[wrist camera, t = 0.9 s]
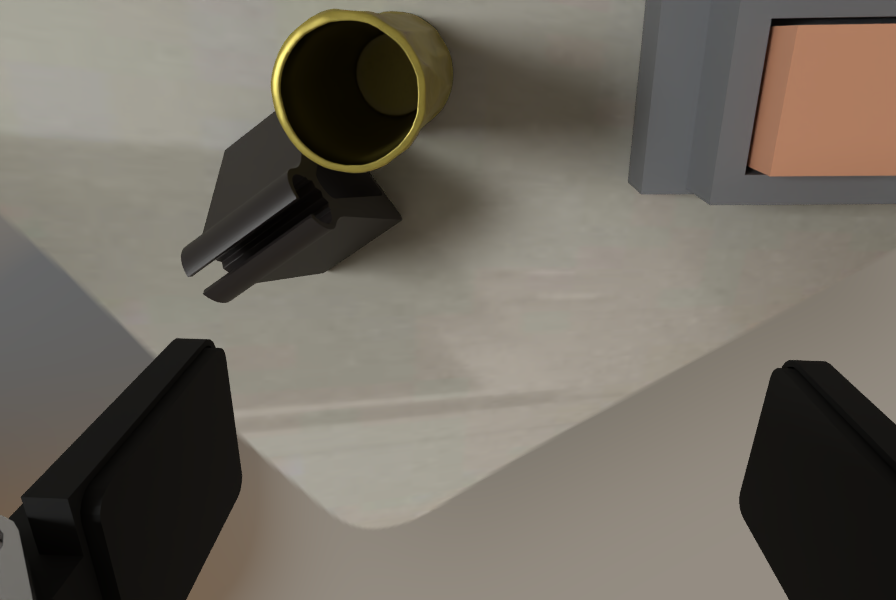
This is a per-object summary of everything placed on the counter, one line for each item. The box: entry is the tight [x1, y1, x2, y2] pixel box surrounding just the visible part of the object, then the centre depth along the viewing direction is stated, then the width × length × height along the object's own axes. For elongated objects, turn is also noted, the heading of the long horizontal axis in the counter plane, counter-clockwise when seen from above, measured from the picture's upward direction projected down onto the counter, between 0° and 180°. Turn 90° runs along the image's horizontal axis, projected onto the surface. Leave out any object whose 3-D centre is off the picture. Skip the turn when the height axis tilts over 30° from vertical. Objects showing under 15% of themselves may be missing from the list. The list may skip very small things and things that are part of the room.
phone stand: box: [181, 112, 402, 303], centre depth 31 cm, size 9×6×12 cm, turn 34°
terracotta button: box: [746, 24, 896, 176], centre depth 27 cm, size 6×6×3 cm
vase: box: [271, 9, 453, 173], centre depth 27 cm, size 6×6×14 cm
